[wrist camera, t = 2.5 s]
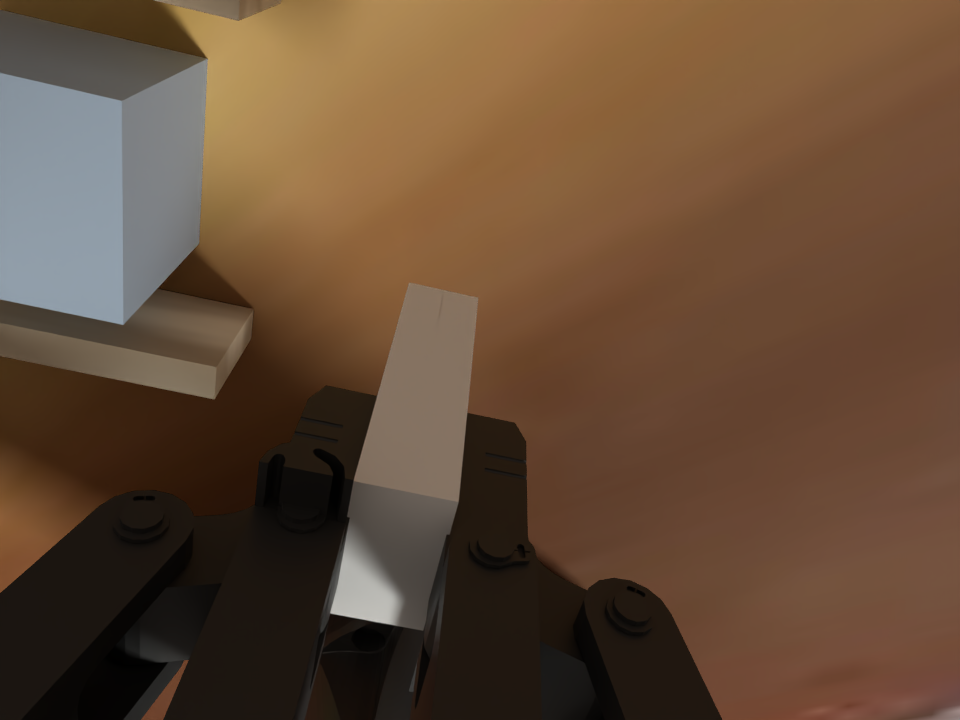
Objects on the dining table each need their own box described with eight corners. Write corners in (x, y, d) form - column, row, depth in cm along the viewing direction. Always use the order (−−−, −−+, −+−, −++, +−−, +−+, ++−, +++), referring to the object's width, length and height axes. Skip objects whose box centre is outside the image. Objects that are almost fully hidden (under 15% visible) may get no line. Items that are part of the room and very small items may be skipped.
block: (200, 242, 26) (123, 325, 21) (17, 203, 26) (-108, 277, 21) (208, 58, 23) (121, 101, 18) (2, 9, 23) (-148, 38, 18)
